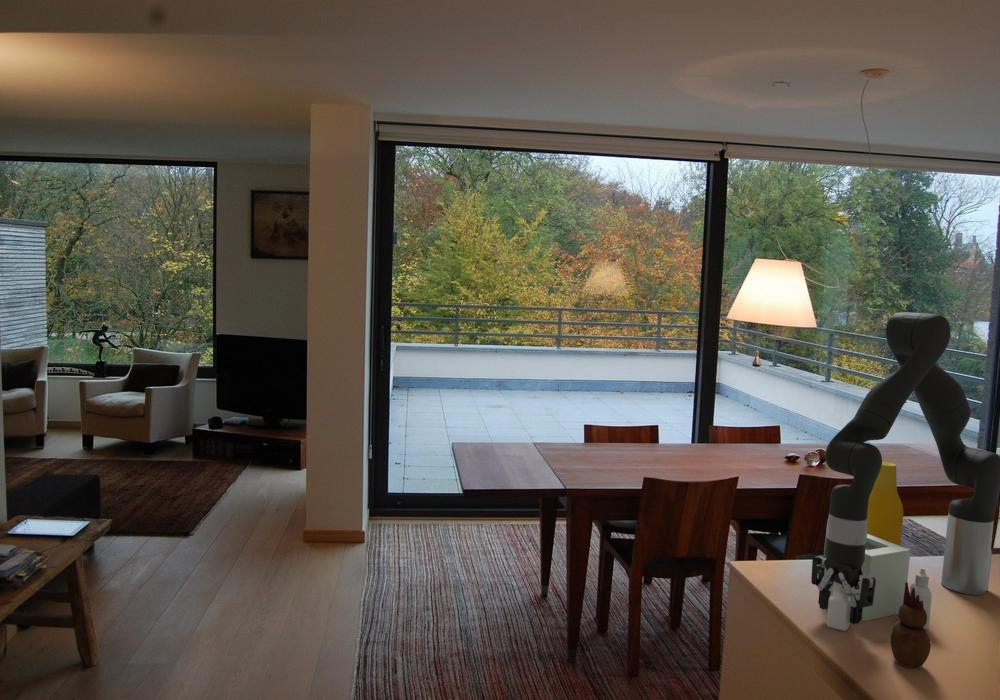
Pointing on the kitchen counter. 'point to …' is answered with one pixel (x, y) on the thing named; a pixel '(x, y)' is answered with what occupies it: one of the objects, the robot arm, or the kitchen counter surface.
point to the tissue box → (884, 576)
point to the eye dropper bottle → (923, 592)
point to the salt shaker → (838, 608)
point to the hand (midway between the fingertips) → (838, 615)
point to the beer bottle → (885, 507)
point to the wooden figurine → (910, 632)
